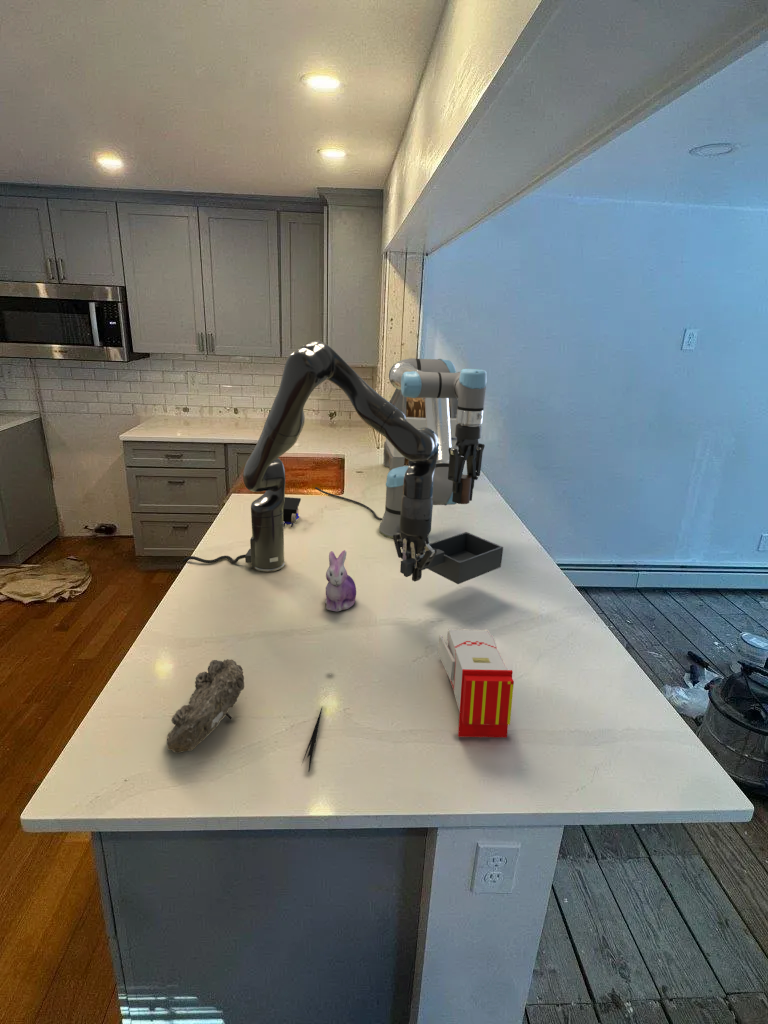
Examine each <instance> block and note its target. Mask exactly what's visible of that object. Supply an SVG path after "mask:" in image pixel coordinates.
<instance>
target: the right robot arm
mask: <svg viewBox="0 0 768 1024" xmlns="http://www.w3.org/2000/svg"><path fill="white" fill-rule="evenodd" d="M456 369H457V368H456V366H455V364H454V363H453V361H452V360H450V359H443V358H415V357H411V358H410V357H409V358H405V359H401V360H399V361H396V362H395V363H394V364H393V365H392V366H391V367H390V369H389V370H388V371H389V372H388V380H389V382H390V384H391V386H392V387H393V388H395V389H396V388H397V389H399V390H401V392H402V395H403V396H404V397H411V398H421V399H423V400H424V401H425V413H426V428H429V429H431V430H433V431H434V432H435V433H436V435H437V437H438V441H439V450H438V457H437V462H436V467H435V471H434V478H433V495H432V499H433V506H453V505H457V504H458V505H462V504H461V493H462V482H460V481H461V477H462V475H464V468H465V464H466V475H469V476H471V477H472V480H471V491H470V502H471V501H473V493H474V492H473V491H474V488H475V481H477V480H478V478H479V477H480V476H481V470H482V461H483V453H484V449H485V444H484V443H480V442H479V440H480V439H481V438H482V430H483V427H482V424H483V420H484V419H483V418H484V409H485V402H486V401H485V399H486V390H487V385H488V382H487V381H488V380H487V379H488V377H487V375H488V374H487V373H488V372H487V371H486V370H485V369H481V368H463V369H461V370H460V371H457V370H456ZM449 398H453V399H458V406H457V416H456V422H457V423H458V424H457V425H456V429H455V436H456V438H457V442H456V445H455V446H454V447H453V448H452V446H451V430H450V415H449V400H448V399H449ZM407 469H408V466H407V465H404V466H402V467H397V468H394V469H392V470H391V471H390V470H388V473H387V475H386V480H385V481H386V482H385V487H386V488H385V504H384V505H385V507H384V508H385V509H384V513H383V515H382V517H379V516H377V514H376V512H375V511H374V510H373V509H372V508H370V507H369V506H368V505H365V504H364V503H361V502H359V501H357V500H354V499H352V498H347V497H344V496H340V495H337V494H333V493H330V492H327V491H325V490H322V489H321V488H319V487H317V486H315V487H314V489H315V490H317V491H319V492H320V493H322V494H325V495H328V496H330V497H334V498H337V499H339V500H340V499H341V500H343V501H348V502H350V503H353V504H356V505H359V506H361V507H363V508H365V509H367V510H368V511H369V512H370V513H372V516H374V518H375V519H377V520H378V521H381V522H379V526H378V533H379V534H380V535H381V536H382V537H385V538H387V539H389V540H394V539H393V535H395V534H399V533H401V531H400V515H401V502H402V497H403V483H404V476H405V473H406V471H407Z"/></svg>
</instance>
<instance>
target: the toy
mask: <svg viewBox="0 0 768 1024" xmlns="http://www.w3.org/2000/svg"><path fill="white" fill-rule="evenodd" d="M446 640H447V643H446V641H445V639H444V636H443V635H442V634H439V637H438V646H437V656H438V657H439V659H440V661H441V663H442V666H443V668H444V670H445V672H446V674H447V677H448V679H449V681H450V684H451V687H452V690H453V693H454V697H455V701H456V705H457V708H458V711H459V714H458V715H459V716H458V730H457V731H458V732H457V737H458V738H508V731H509V726H510V725H511V717H512V707H513V697H514V696H513V695H514V684H515V680H514V679H513V673H514V671H513V670H512V669H508V667H507V665H506V662H505V661H504V659H503V658H502V655H501V653H500V651H499V649H498V647H497V643H496V639H495V637H494V635H493V634H491V632H490V631H489V629H467V628H466V629H465V628H463V629H461V628H460V629H459V628H448V630H447V639H446Z"/></svg>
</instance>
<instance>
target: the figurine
mask: <svg viewBox="0 0 768 1024" xmlns="http://www.w3.org/2000/svg"><path fill="white" fill-rule="evenodd" d="M346 558H347V551H346V550H345V549H343V550H342V551H341V552H340V554H339V555H338V557H337V556H336V555H335V552H334V551H332V550H331V551H330V552H329V553H328V564H329V566H328V568H327V570H326V573H325V578H326V581H327V584H326V585H325V601H324V602H325V605H326V606H325V608H326V610H328V611H333V612H340V611H343V610H345V611H346V610H348V609H350V608H351V607H353V606H354V605H355V603H356V600H357V599H356V598H357V586H356V582H355V581H354V579H353V577H351V576H350V575H349V574H348V571H347V568H346V566H345V561H346V560H347V559H346Z"/></svg>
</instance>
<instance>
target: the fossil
mask: <svg viewBox="0 0 768 1024" xmlns="http://www.w3.org/2000/svg"><path fill="white" fill-rule="evenodd" d="M243 670H244V669H243V667H242V665H240V664H237V662H236V661H235V660H234V659H232V658H231V659H227V658H226V659H224V660H223V661H222V660H217V659H212V660H211V661H210V663H209V665H208V666H207V671H201V672H199V673H198V674H197V675H196V676H195V680H194V684H195V685H194V687H195V689H194V690H193V693H192V694H191V697H190V698H189V700H188V704H184V705H182V706H181V707H180V709H177V710H176V711H175V713H174V715H173V716H172V718H171V723H172V724H173V727H172V730H171V731H170V732H168V734H167V738H166V741H167V742H166V745H167V749H168V750H169V751H173V752H174V753H176V754H178V753H182V752H188V751H189V752H192V751H193V750H195V748H196V747H197V746H199V744H200V743H201V742H203V741H204V740H205V739H206V738H207V737H208V736H209V735H210V734H211V733H212V732H214V730H215V729H217V727H218V726H219V724H220V722H221V721H222V720H223V719H224V718H225V716H226V717H227V719H229V720H233V717H232V715H230V714H229V710H230V709H231V708H234V706H235V704H236V703H237V702H238V699H239V697H240V695H241V693H242V691H243V690H245V689H244V688H245V675H244V671H243Z"/></svg>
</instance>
